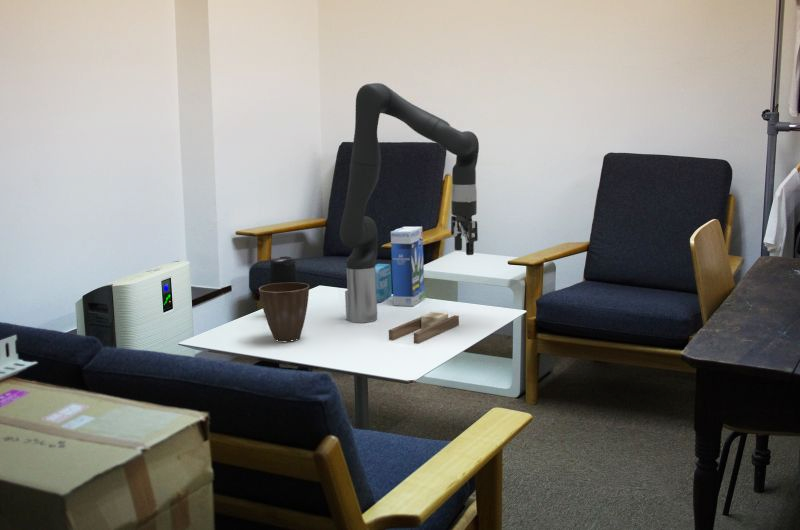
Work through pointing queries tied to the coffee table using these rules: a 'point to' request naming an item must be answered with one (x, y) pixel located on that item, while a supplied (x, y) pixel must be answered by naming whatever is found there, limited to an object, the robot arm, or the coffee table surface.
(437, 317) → the maple block
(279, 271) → the portable speaker
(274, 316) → the plant pot
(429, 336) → the walnut chute
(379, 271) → the data package
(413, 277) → the string lights box
